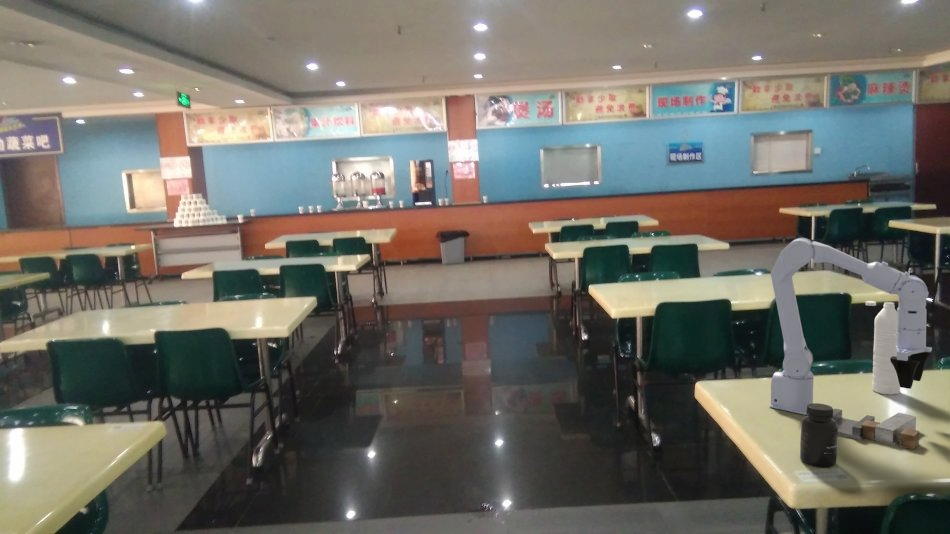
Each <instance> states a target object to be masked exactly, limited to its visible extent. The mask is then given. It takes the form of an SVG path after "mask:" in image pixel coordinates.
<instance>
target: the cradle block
mask: <svg viewBox="0 0 950 534" xmlns="http://www.w3.org/2000/svg"><path fill="white" fill-rule="evenodd" d="M832 419H833V420H834V421H835V422H836V423H837V425H838V436H840V435H841V437H844V436H845V438H848V437H850V438H849V439H853V438H855V439H854V440H857V439H858V440H857V441H862V440H864V439H865V438H864V434H863V426H862V425H861V424H863V423H864V422H865V421H866V420H870V421H875V420H876V419H875V416H873V415H868V414H867V415H866V416H864V417H863V418H861V419H860V420H859V421H858V420H854V419H848V418H845V417H843V409H839V408H833V418H832ZM875 422H876V421H875Z"/></svg>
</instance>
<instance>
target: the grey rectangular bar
mask: <svg viewBox="0 0 950 534" xmlns="http://www.w3.org/2000/svg"><path fill="white" fill-rule="evenodd" d="M879 423H880V424H878V425H876V426H875V440H878V441H877V442H879V441H881V442H880V443H883V442H884V444H887V443H888V445H891V444H892V445H891V446H894V445H895V444H896V443H898V442H900V441H899V440H900V433H901V432H902V431H903V430H904V429H905V428H908V429H912V430H917V429H916V428H917V427H916V426H917V416H916V415H913V414H912V415H911V414H907V413H903V412H897V413H896V414H894V415H892V416H890V417H889V418H887V419H885V420H882V421H881V422H879ZM875 440H874V441H875ZM894 443H895V444H894Z"/></svg>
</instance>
